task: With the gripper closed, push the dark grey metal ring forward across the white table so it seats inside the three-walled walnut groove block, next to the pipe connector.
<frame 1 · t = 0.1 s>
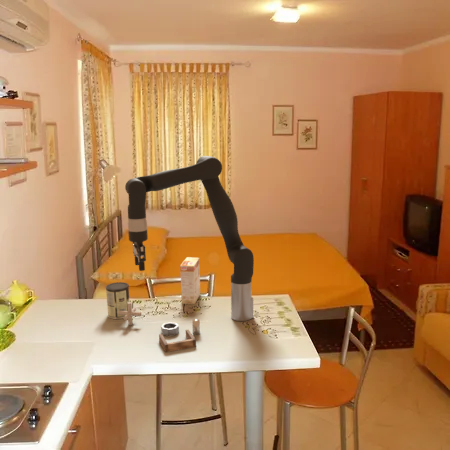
hand: (139, 267, 195), 29 cm above the table, fingers open, 8 cm apart
groove block: (177, 343, 192), on the table
metal ring: (170, 332, 202), on the table
tan rounded piece: (196, 333, 201), on the table
pipe connector: (130, 324, 211), on the table
coffee can: (119, 315, 221), on the table
coffeecake box: (191, 298, 241), on the table
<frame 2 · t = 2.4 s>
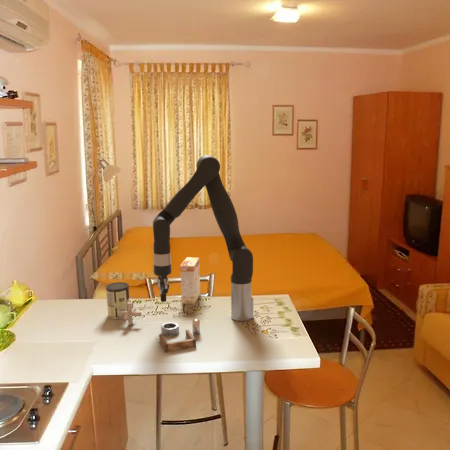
hand: (163, 301, 208), 11 cm above the table, fingers closed
nothing on the table moved.
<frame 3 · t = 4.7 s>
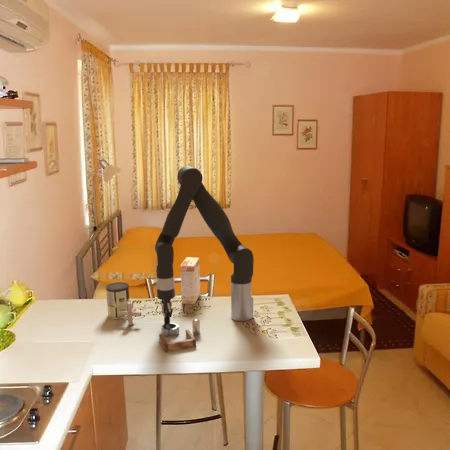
hand: (167, 324, 206), 2 cm above the table, fingers closed
metal ring: (170, 332, 201), on the table, touching gripper
everything else where it was.
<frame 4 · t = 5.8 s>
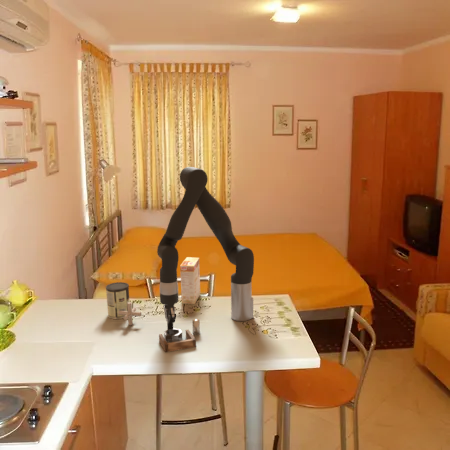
hand: (170, 330, 200), 2 cm above the table, fingers closed
metal ring: (173, 338, 196), on the table, touching gripper
everything else where it was.
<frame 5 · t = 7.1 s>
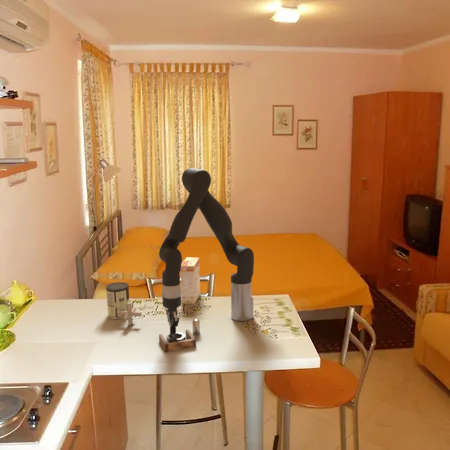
hand: (173, 334, 196), 2 cm above the table, fingers closed
metal ring: (176, 343, 192), on the table, touching gripper
everything else where it was.
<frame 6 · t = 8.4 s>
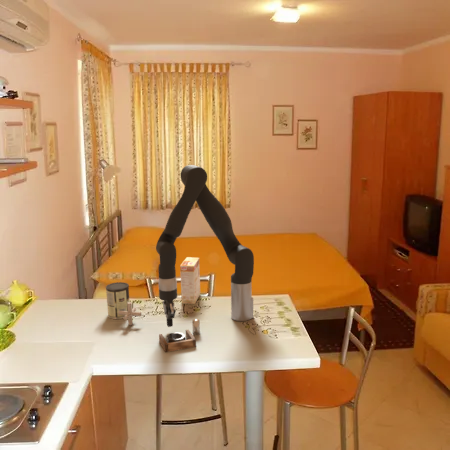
hand: (169, 325, 202), 3 cm above the table, fingers closed
metal ring: (176, 343, 192), on the table
everything else where it was.
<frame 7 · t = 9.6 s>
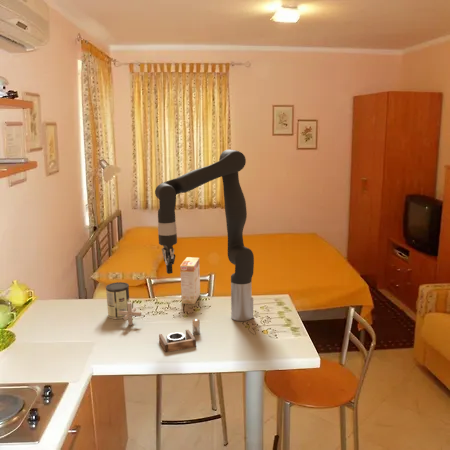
hand: (169, 273, 199), 25 cm above the table, fingers closed
nothing on the table moved.
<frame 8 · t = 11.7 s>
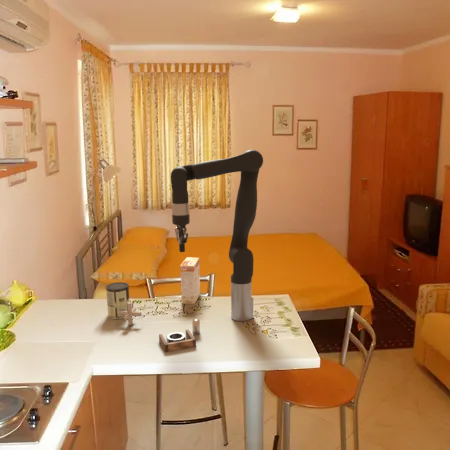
hand: (182, 251, 211), 31 cm above the table, fingers closed
nothing on the table moved.
at the end: metal ring inside the target area (1.3 cm from its centre), on the table; tan rounded piece moved 0.0 cm from its start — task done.
